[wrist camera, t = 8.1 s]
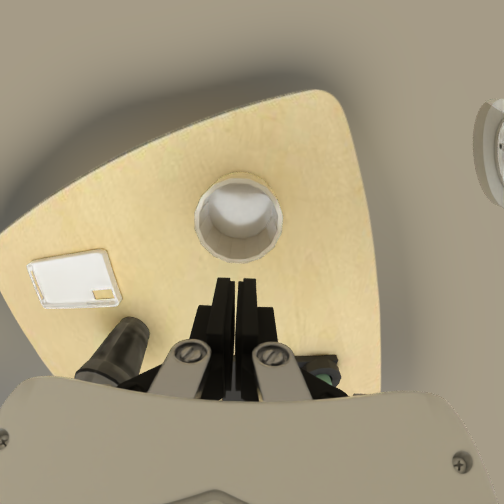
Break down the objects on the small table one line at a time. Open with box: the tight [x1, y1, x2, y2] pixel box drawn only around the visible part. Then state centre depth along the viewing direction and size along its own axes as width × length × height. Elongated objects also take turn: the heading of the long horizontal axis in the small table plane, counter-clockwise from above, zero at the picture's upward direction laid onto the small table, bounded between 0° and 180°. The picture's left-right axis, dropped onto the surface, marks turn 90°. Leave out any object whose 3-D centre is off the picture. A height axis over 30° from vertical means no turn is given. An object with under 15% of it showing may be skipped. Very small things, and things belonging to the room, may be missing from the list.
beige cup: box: [194, 172, 283, 263], centre depth 25 cm, size 7×7×6 cm
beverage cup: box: [74, 317, 149, 387], centre depth 24 cm, size 7×7×20 cm
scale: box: [223, 355, 341, 402], centre depth 36 cm, size 16×14×3 cm
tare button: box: [316, 374, 332, 385], centre depth 33 cm, size 3×3×2 cm
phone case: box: [27, 249, 122, 309], centre depth 30 cm, size 7×1×15 cm
